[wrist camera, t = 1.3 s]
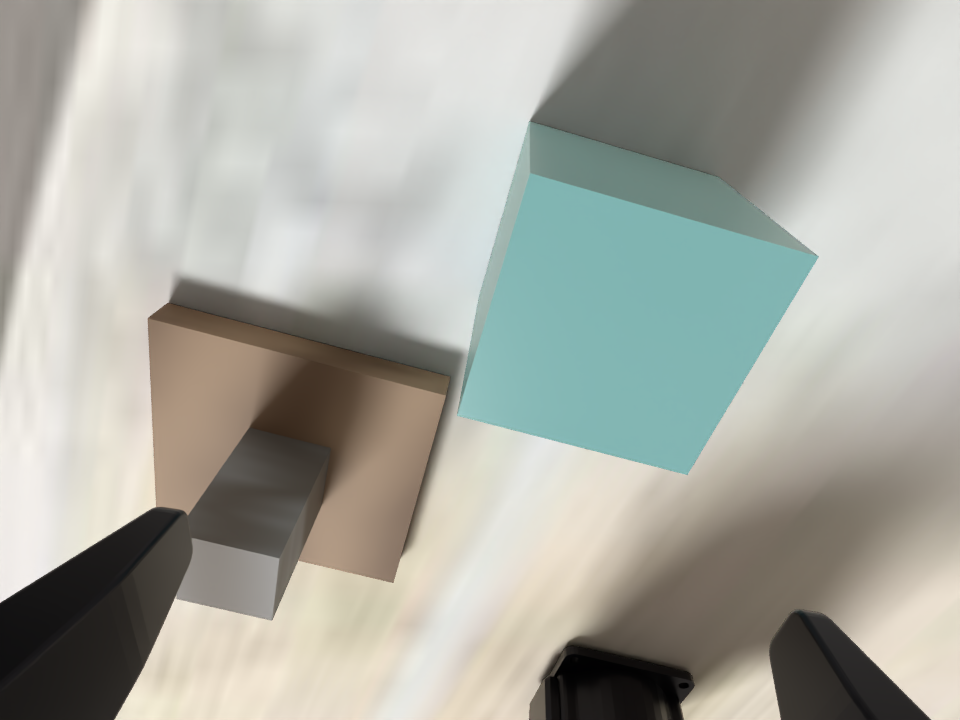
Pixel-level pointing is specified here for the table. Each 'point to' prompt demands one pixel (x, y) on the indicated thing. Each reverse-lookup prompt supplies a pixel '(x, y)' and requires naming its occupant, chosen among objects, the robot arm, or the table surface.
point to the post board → (304, 407)
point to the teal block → (623, 301)
